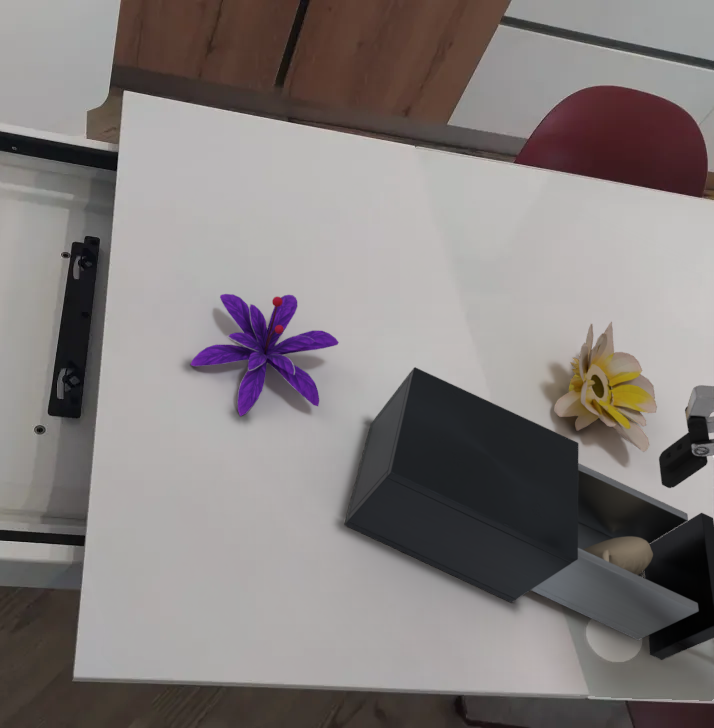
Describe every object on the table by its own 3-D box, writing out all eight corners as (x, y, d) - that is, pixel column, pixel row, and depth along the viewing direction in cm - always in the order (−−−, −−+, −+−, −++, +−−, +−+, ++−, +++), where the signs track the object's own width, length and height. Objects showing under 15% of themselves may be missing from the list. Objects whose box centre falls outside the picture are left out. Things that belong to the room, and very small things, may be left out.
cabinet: (519, 492, 75) (578, 442, 68) (511, 602, 67) (578, 559, 59) (370, 423, 75) (414, 366, 68) (344, 525, 67) (390, 472, 59)
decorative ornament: (637, 579, 70) (679, 556, 66) (577, 603, 66) (616, 580, 62) (611, 540, 72) (649, 515, 68) (550, 561, 68) (587, 536, 64)
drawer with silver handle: (719, 583, 74) (784, 550, 68) (734, 694, 66) (810, 668, 60) (512, 487, 74) (560, 446, 68) (504, 587, 66) (557, 551, 60)
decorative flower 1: (352, 328, 78) (372, 289, 72) (299, 448, 71) (316, 418, 65) (233, 275, 80) (242, 232, 73) (170, 388, 73) (173, 352, 66)
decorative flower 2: (629, 480, 78) (678, 410, 71) (528, 425, 82) (566, 355, 76) (661, 414, 88) (707, 348, 81) (570, 368, 92) (606, 303, 86)
